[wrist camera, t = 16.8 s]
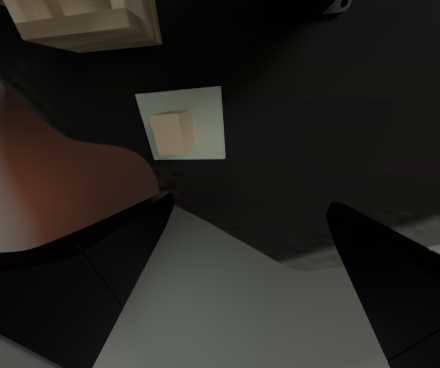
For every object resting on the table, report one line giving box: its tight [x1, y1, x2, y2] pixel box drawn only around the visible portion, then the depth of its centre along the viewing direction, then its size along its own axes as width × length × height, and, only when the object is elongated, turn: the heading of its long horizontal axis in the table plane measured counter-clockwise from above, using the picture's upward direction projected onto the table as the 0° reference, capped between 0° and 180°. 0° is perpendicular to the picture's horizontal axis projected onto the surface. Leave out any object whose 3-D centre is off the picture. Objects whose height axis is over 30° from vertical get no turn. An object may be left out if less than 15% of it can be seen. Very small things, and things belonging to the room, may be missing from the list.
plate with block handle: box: [135, 86, 225, 160], centre depth 18 cm, size 8×10×5 cm
